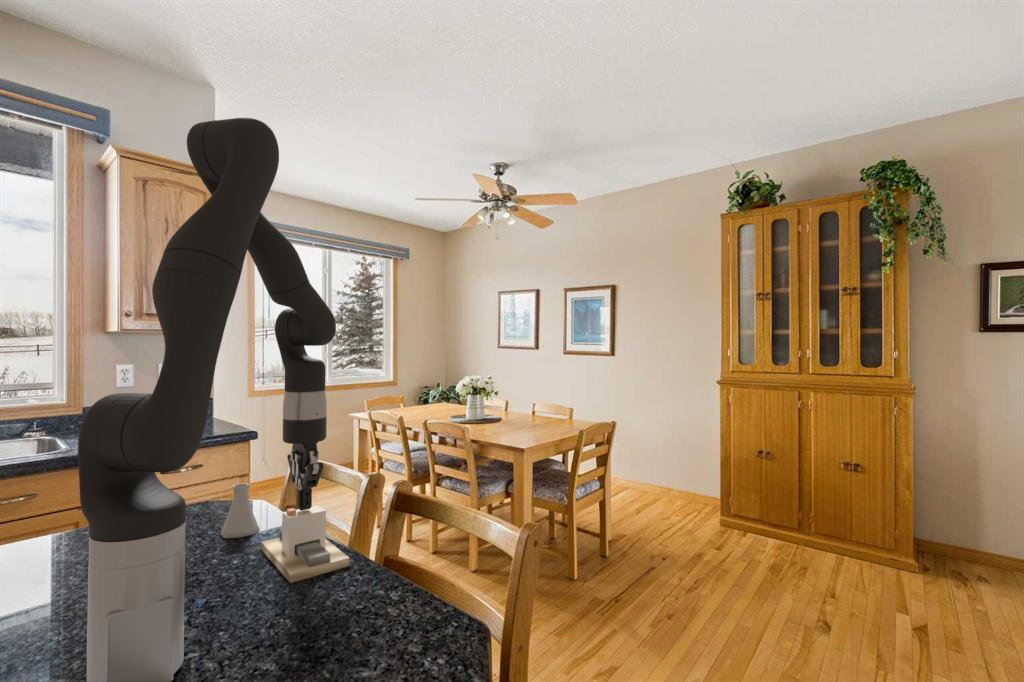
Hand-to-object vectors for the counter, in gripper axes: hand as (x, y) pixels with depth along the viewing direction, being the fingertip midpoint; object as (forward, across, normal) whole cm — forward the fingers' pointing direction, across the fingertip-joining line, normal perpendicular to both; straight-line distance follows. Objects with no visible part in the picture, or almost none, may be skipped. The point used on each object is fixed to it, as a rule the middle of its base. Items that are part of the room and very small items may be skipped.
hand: (304, 508), depth 92 cm
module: (+8, 0, 0) cm, 8 cm away
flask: (+9, +21, +6) cm, 24 cm away
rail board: (+9, 0, 0) cm, 9 cm away
